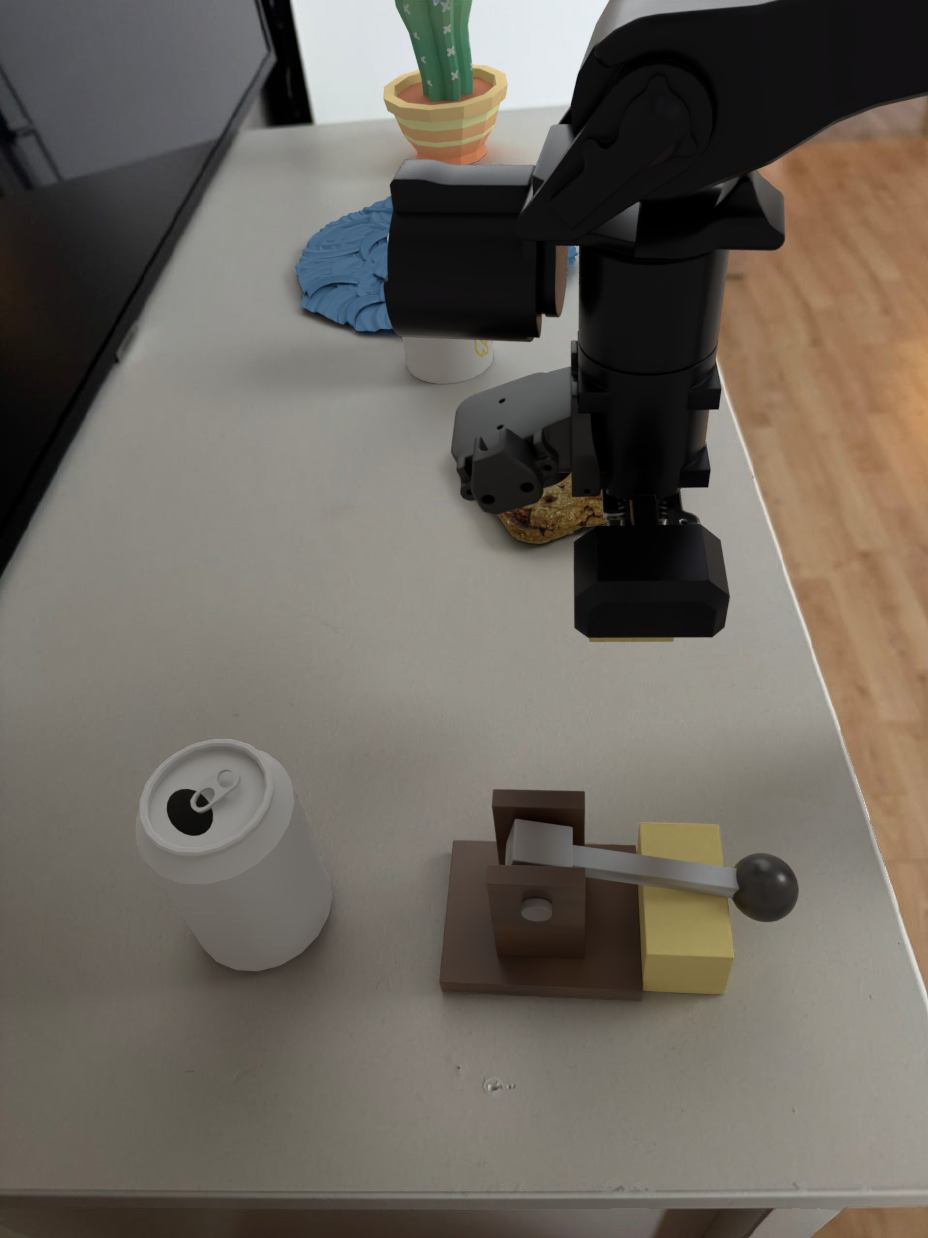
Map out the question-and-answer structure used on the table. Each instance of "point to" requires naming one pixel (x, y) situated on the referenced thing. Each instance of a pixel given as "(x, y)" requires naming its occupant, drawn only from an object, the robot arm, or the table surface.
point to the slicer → (538, 914)
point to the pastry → (554, 515)
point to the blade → (661, 870)
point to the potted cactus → (444, 85)
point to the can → (234, 853)
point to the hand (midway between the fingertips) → (630, 598)
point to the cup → (447, 358)
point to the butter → (683, 916)
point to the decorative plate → (352, 268)
